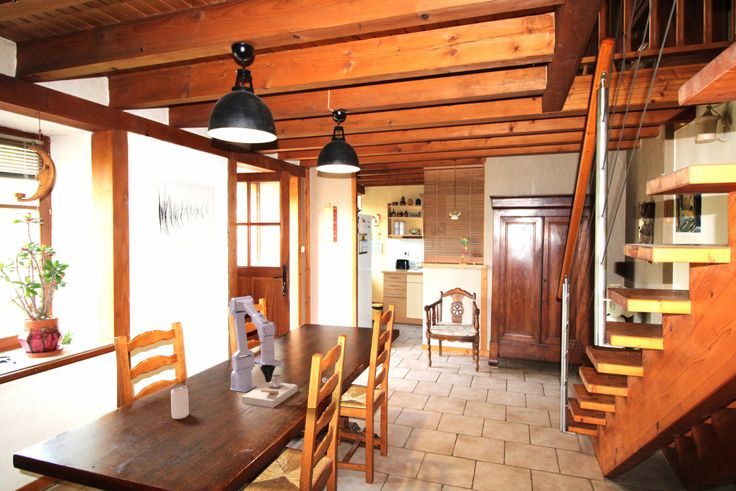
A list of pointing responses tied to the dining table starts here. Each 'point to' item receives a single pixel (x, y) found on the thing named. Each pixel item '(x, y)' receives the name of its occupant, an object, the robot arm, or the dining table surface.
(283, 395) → the plate
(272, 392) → the block
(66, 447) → the dining table surface
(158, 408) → the dining table surface
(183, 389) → the can
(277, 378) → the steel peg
